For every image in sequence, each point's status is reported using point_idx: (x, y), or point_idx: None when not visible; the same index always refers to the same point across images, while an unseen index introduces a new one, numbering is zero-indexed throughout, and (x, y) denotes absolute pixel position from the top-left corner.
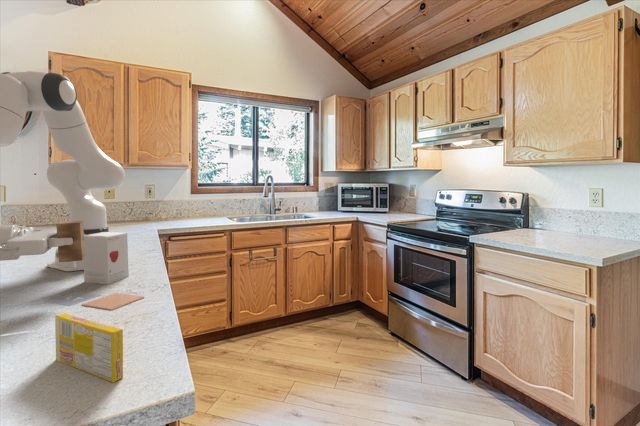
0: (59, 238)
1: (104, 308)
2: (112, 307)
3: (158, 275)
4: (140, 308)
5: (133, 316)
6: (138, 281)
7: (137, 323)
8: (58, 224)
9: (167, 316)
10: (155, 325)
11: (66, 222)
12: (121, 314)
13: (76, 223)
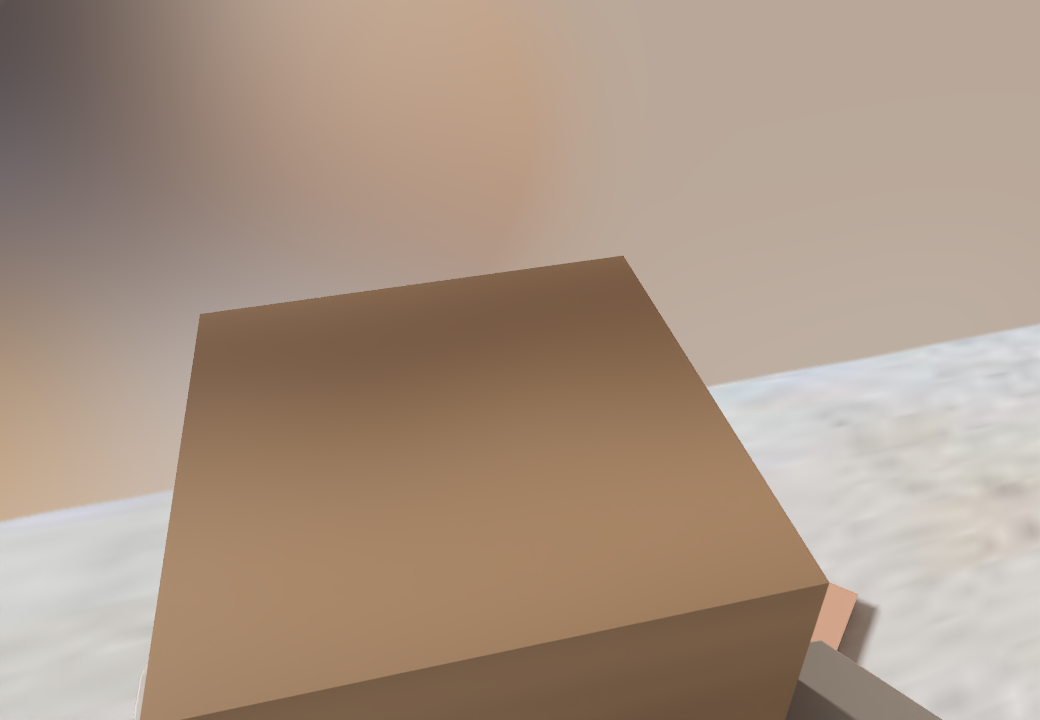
0: (888, 688)
1: (837, 647)
2: (826, 600)
3: (15, 540)
4: (785, 483)
5: (915, 484)
6: (124, 634)
7: (1006, 447)
8: (799, 557)
9: (890, 368)
10: (1009, 385)
11: (555, 453)
12: (894, 543)
13: (641, 300)
